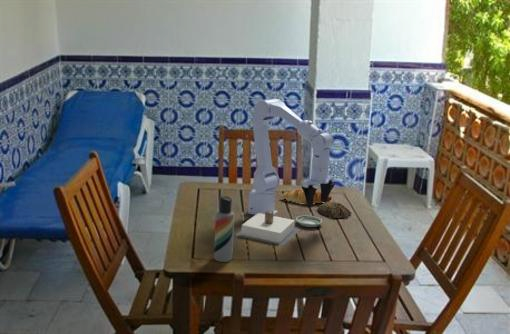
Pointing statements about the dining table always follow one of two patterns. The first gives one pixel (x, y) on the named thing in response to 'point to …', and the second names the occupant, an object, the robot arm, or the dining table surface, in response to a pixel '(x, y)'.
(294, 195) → the croissant
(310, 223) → the saucer
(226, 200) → the lotion bottle
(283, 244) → the mat
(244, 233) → the cover
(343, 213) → the bread roll
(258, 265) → the dining table surface
